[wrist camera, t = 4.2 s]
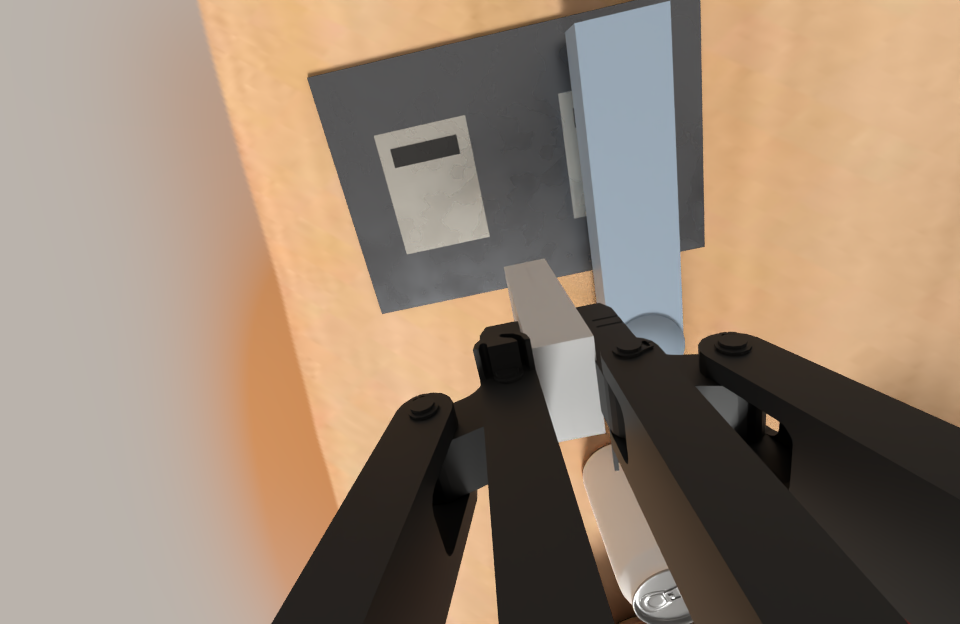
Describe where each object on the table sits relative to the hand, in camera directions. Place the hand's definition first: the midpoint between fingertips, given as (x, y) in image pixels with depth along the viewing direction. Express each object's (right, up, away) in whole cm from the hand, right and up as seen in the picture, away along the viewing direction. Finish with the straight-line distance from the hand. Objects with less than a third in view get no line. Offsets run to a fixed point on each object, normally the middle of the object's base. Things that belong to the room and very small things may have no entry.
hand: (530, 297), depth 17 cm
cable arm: (+8, +6, +13) cm, 16 cm away
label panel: (+1, +9, +14) cm, 16 cm away
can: (+10, -14, +24) cm, 30 cm away
